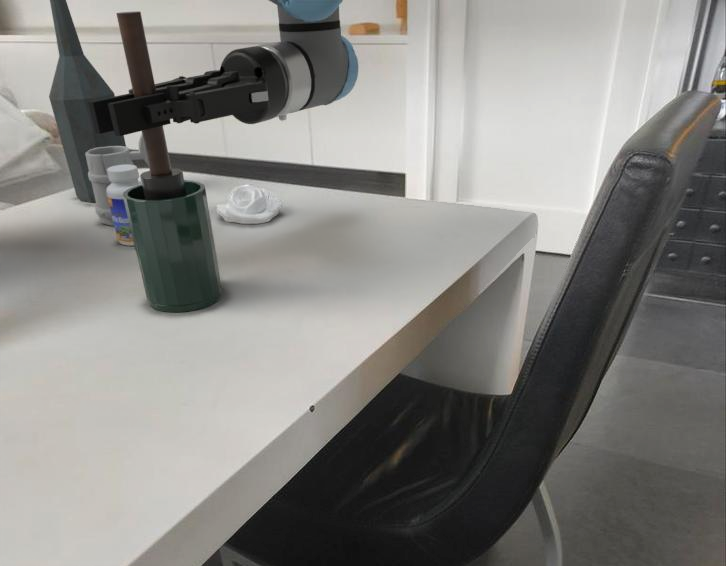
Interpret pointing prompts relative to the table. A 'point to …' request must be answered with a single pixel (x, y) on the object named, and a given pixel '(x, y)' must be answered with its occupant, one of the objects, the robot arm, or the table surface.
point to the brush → (161, 176)
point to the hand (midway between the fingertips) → (104, 118)
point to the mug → (98, 174)
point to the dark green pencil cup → (175, 248)
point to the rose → (249, 205)
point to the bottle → (77, 101)
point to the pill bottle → (121, 199)
